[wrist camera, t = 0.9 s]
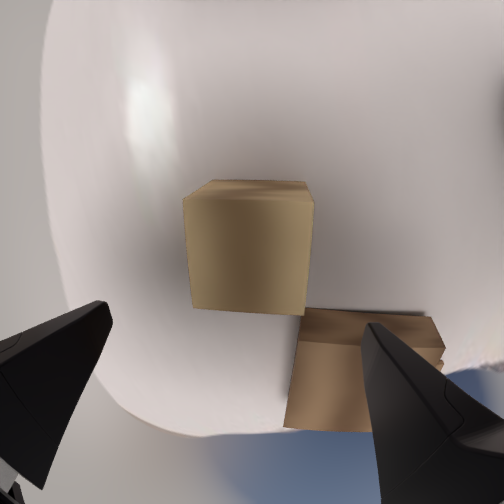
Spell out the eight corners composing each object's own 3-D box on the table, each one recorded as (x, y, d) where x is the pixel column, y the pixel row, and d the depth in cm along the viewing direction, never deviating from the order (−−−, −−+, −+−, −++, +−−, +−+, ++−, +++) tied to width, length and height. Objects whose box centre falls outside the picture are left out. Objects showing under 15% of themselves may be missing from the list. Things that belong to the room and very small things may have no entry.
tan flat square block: (430, 316, 19) (445, 347, 16) (391, 400, 24) (395, 431, 20) (302, 307, 21) (298, 340, 18) (288, 395, 26) (283, 427, 22)
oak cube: (305, 181, 18) (314, 202, 12) (299, 266, 20) (303, 315, 15) (213, 179, 18) (182, 199, 13) (216, 262, 21) (192, 308, 15)
